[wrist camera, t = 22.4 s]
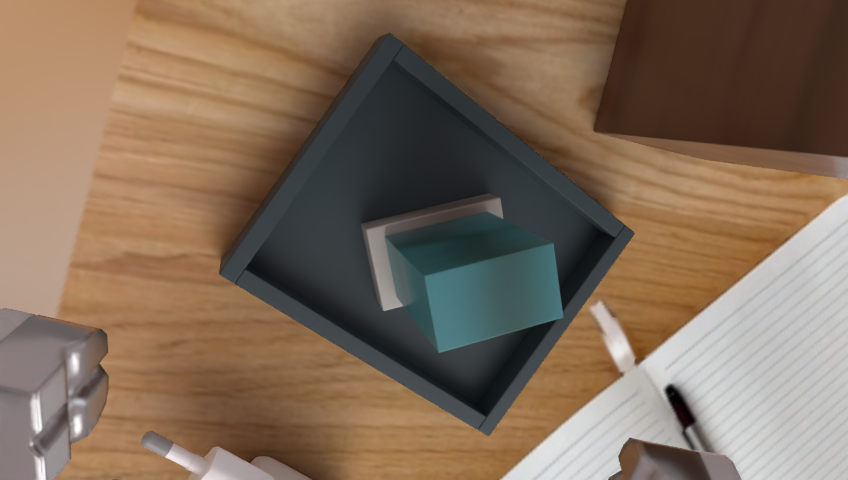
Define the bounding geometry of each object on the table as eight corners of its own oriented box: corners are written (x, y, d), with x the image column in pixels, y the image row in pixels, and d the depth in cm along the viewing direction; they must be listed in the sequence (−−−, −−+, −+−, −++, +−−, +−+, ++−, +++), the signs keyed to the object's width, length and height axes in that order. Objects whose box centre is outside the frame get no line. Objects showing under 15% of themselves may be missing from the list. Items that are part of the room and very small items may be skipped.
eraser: (377, 302, 32) (421, 371, 24) (360, 223, 31) (400, 267, 23) (501, 269, 33) (583, 324, 25) (489, 192, 32) (570, 224, 24)
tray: (220, 261, 30) (218, 274, 28) (379, 36, 30) (389, 32, 28) (474, 416, 35) (489, 437, 33) (611, 224, 35) (635, 233, 33)
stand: (592, 131, 34) (944, 167, 17) (629, -8, 33) (1042, -120, 16) (704, 159, 36) (1119, 216, 19) (742, 29, 35) (1216, -36, 18)
